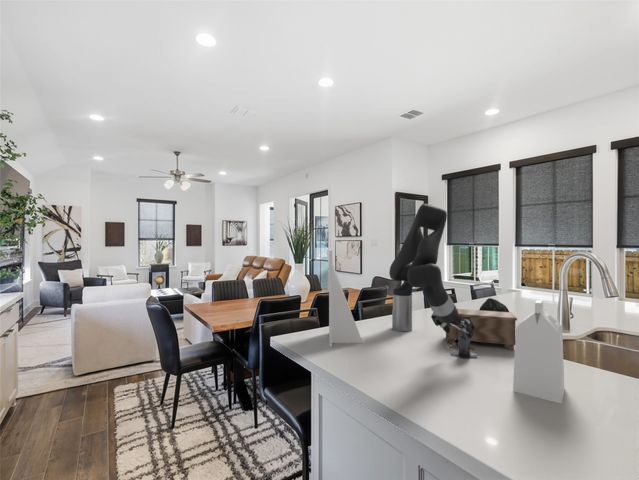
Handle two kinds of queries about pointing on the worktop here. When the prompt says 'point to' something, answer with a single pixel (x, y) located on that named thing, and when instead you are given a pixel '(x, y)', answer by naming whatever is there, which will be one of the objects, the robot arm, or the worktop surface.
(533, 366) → the milk
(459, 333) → the joystick
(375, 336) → the worktop surface
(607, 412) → the worktop surface
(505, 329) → the cabinet
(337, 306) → the white bracket plate
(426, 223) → the robot arm
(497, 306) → the squash
